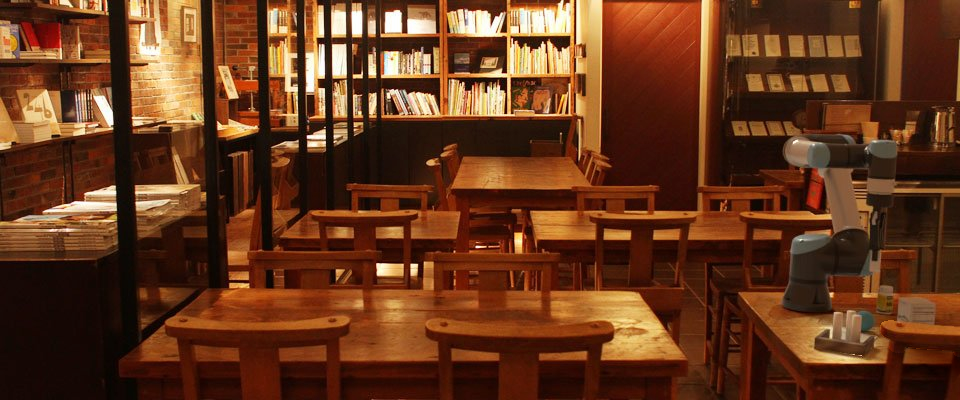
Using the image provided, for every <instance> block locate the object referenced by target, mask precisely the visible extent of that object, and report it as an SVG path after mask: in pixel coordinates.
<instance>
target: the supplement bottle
mask: <svg viewBox="0 0 960 400" xmlns="http://www.w3.org/2000/svg"><path fill="white" fill-rule="evenodd" d="M878 287H879V291H878V292H877V298H876V313H877V314H881V315H891V314H893V309H894V308H893V306H894V297H895V296H894V293H893V292H894V287H893V286H891V285H879V286H878Z"/></svg>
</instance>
